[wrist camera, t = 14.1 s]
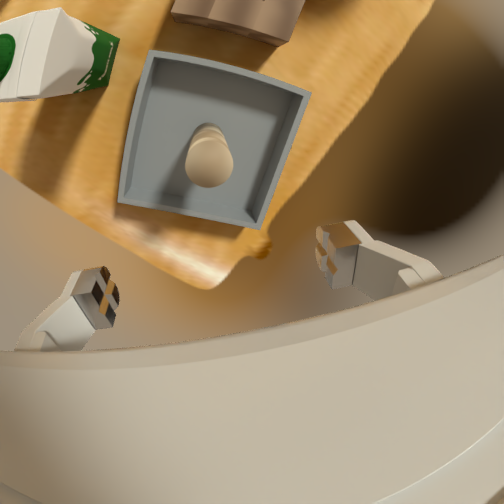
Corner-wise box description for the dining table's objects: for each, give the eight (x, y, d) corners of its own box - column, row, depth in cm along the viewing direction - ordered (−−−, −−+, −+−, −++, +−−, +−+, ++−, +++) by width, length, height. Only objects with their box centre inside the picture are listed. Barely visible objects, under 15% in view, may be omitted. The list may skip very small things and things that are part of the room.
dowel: (195, 154, 34) (190, 192, 23) (190, 126, 32) (180, 147, 20) (225, 148, 34) (236, 183, 23) (220, 120, 32) (229, 138, 21)
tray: (126, 188, 36) (117, 202, 32) (156, 54, 26) (149, 49, 22) (253, 213, 42) (259, 230, 37) (298, 91, 32) (311, 92, 28)
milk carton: (72, 35, 21) (-19, 18, 4) (129, 33, 23) (58, -8, 7) (59, 91, 25) (-39, 115, 9) (114, 92, 28) (29, 106, 11)
